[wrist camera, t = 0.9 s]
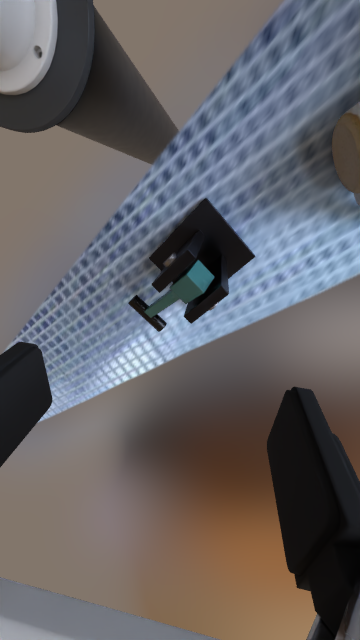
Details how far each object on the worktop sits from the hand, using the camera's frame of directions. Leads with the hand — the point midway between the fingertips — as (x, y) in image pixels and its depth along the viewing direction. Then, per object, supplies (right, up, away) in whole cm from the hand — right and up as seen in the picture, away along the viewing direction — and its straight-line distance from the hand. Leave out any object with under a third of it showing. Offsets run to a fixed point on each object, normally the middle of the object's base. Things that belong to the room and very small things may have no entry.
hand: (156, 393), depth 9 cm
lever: (0, +6, +17) cm, 18 cm away
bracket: (+4, +11, +22) cm, 25 cm away
